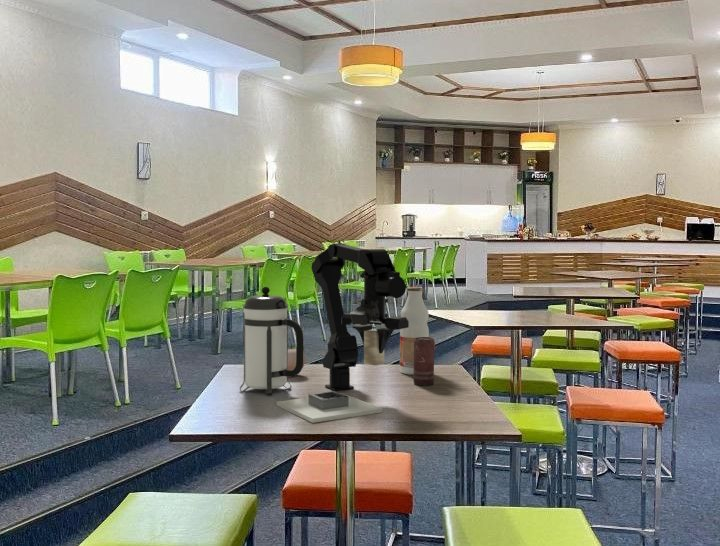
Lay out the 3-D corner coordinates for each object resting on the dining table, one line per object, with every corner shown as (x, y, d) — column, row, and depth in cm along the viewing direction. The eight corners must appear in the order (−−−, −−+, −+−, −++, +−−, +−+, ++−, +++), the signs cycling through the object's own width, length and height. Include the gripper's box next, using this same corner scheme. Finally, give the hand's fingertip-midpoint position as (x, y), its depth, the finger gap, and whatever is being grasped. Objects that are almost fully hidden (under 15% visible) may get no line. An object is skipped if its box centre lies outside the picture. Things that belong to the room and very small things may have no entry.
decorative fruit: (284, 379, 219) (284, 347, 219) (273, 375, 226) (273, 344, 226) (311, 376, 224) (311, 345, 224) (299, 372, 231) (299, 341, 231)
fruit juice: (410, 376, 226) (411, 288, 224) (394, 371, 234) (394, 286, 232) (434, 373, 231) (435, 287, 229) (417, 368, 239) (418, 285, 237)
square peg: (363, 363, 193) (364, 330, 192) (372, 361, 196) (372, 329, 195) (376, 365, 190) (376, 332, 190) (384, 363, 194) (384, 330, 193)
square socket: (308, 403, 184) (308, 394, 184) (333, 400, 188) (333, 390, 188) (322, 409, 178) (322, 400, 178) (348, 406, 182) (348, 396, 182)
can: (433, 386, 211) (434, 339, 210) (412, 385, 212) (412, 339, 211) (435, 382, 217) (436, 336, 216) (414, 381, 218) (415, 336, 217)
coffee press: (240, 398, 194) (240, 289, 193) (238, 385, 210) (238, 284, 208) (303, 395, 198) (303, 288, 196) (296, 383, 213) (297, 284, 212)
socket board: (276, 405, 186) (276, 401, 186) (342, 396, 197) (342, 393, 197) (312, 422, 169) (312, 418, 169) (381, 412, 180) (382, 408, 180)
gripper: (329, 295, 191) (328, 352, 192) (387, 299, 180) (386, 360, 181) (353, 292, 200) (353, 347, 201) (409, 296, 189) (409, 354, 190)
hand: (374, 352), depth 193 cm, fingers closed on square peg, 4 cm apart
